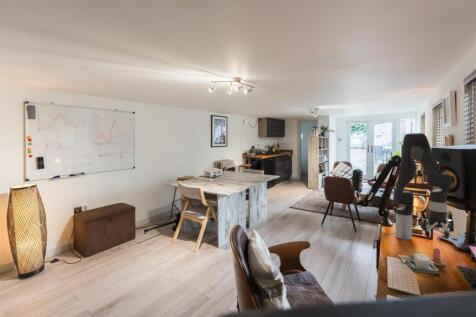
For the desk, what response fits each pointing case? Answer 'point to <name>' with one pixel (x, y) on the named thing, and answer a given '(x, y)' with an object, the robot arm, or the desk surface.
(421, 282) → the desk surface
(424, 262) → the die
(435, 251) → the pawn
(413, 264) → the tray
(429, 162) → the robot arm
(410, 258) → the board
